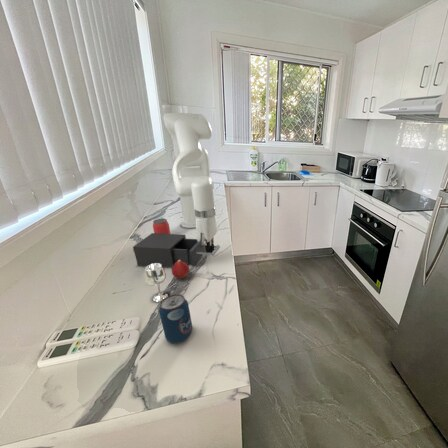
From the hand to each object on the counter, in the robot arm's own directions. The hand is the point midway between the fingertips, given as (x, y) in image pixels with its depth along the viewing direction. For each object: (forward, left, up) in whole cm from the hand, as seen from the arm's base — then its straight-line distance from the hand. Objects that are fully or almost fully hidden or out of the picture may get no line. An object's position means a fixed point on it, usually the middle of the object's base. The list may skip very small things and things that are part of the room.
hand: (210, 252), depth 103 cm
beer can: (-13, -27, -4) cm, 30 cm away
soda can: (+39, +6, -4) cm, 40 cm away
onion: (+13, -6, -4) cm, 15 cm away
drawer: (0, -8, -3) cm, 8 cm away
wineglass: (+24, -8, -4) cm, 26 cm away
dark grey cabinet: (0, -20, -4) cm, 21 cm away
